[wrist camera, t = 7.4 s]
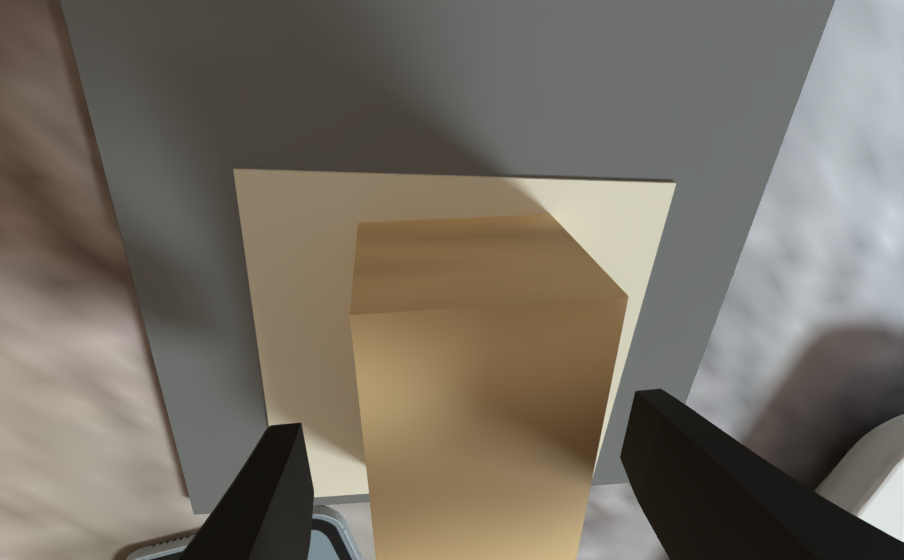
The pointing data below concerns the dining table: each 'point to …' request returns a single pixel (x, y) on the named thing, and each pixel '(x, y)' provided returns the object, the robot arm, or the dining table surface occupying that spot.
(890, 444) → the salad plate
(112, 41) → the mat
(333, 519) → the smartphone
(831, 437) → the dining table surface
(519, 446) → the pine block
